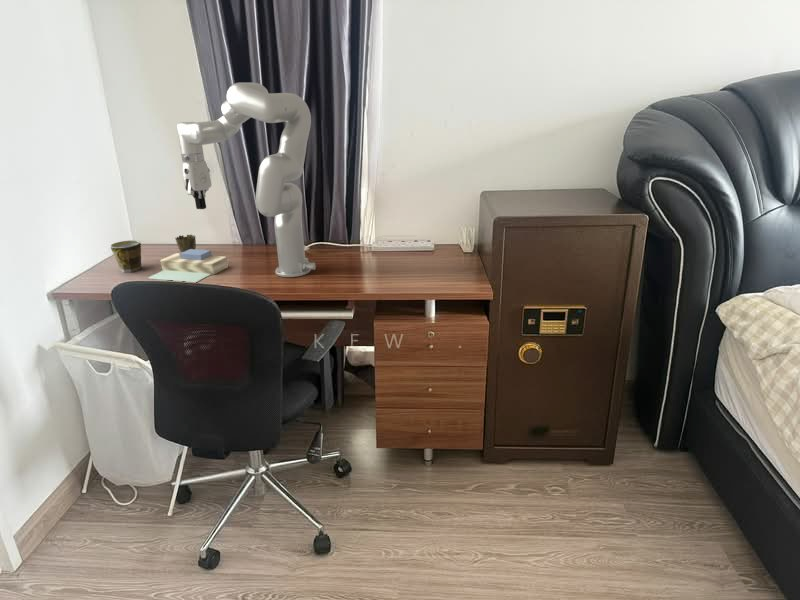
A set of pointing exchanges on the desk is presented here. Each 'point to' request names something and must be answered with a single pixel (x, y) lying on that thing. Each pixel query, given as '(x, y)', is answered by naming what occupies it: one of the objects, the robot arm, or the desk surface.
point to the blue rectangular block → (195, 254)
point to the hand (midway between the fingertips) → (201, 208)
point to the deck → (194, 264)
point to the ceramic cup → (127, 255)
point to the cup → (186, 242)
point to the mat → (179, 276)
